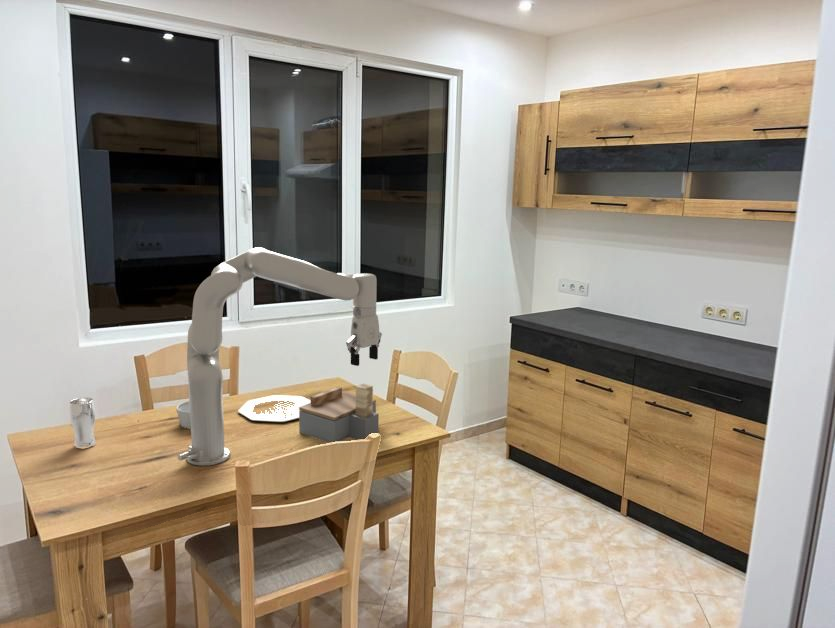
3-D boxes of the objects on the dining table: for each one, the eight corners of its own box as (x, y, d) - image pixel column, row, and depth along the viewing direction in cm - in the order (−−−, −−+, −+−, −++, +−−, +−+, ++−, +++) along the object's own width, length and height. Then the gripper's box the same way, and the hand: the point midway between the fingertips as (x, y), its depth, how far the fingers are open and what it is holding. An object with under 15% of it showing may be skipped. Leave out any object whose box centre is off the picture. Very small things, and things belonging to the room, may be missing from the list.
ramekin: (180, 433, 205) (179, 414, 204) (174, 420, 216) (173, 402, 215) (220, 427, 211) (219, 408, 210) (213, 415, 223) (212, 397, 221)
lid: (334, 420, 198) (334, 409, 197) (299, 409, 207) (299, 398, 206) (375, 402, 216) (376, 391, 215) (341, 393, 225) (341, 383, 224)
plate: (228, 408, 230) (227, 404, 230) (292, 394, 248) (291, 390, 248) (262, 430, 210) (262, 426, 210) (329, 413, 228) (329, 409, 228)
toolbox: (350, 449, 196) (350, 426, 194) (299, 432, 208) (299, 410, 207) (391, 429, 214) (391, 407, 212) (341, 414, 226) (341, 394, 225)
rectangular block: (364, 428, 203) (365, 388, 200) (355, 425, 205) (355, 386, 203) (372, 425, 206) (372, 385, 204) (363, 422, 209) (363, 383, 206)
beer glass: (102, 442, 196) (99, 398, 193) (85, 451, 189) (81, 405, 186) (84, 439, 198) (81, 396, 195) (67, 448, 191) (63, 403, 188)
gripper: (356, 317, 189) (356, 369, 192) (389, 309, 203) (389, 358, 207) (338, 314, 193) (338, 365, 197) (372, 306, 207) (371, 354, 211)
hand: (364, 361), depth 202 cm, fingers open, 9 cm apart
